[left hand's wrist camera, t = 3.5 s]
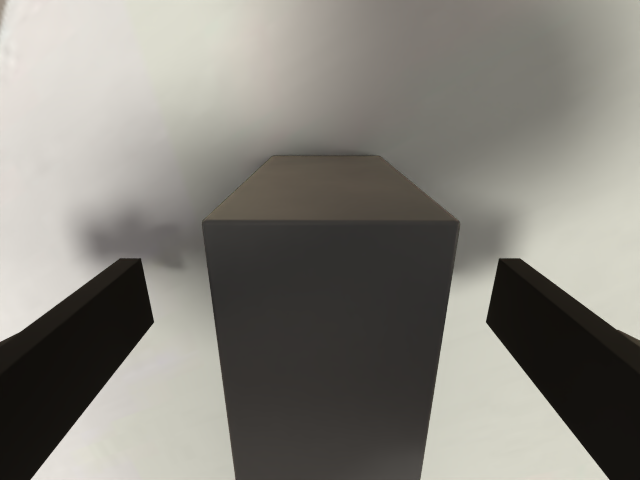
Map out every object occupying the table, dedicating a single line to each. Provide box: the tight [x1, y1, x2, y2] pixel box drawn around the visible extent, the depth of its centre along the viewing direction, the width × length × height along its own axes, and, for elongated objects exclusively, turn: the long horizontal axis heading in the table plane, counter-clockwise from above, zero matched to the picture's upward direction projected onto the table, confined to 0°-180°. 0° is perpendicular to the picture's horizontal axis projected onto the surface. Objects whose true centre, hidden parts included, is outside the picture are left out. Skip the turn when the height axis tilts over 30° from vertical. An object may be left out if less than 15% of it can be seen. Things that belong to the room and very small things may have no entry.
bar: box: [202, 156, 460, 480], centre depth 15 cm, size 23×5×9 cm, turn 0°
